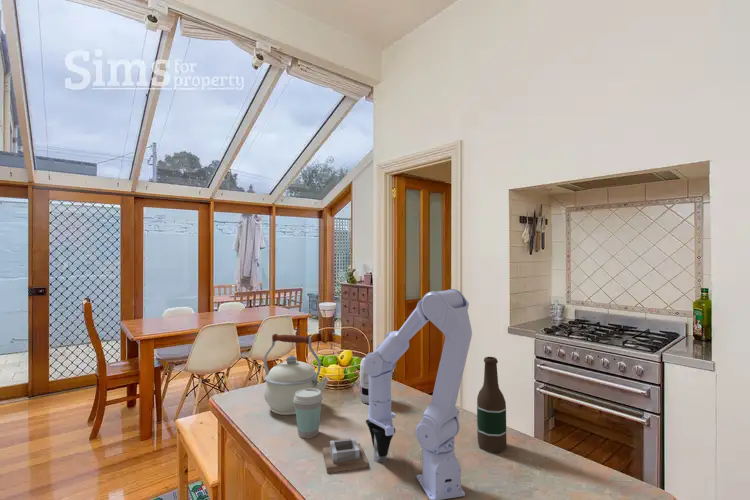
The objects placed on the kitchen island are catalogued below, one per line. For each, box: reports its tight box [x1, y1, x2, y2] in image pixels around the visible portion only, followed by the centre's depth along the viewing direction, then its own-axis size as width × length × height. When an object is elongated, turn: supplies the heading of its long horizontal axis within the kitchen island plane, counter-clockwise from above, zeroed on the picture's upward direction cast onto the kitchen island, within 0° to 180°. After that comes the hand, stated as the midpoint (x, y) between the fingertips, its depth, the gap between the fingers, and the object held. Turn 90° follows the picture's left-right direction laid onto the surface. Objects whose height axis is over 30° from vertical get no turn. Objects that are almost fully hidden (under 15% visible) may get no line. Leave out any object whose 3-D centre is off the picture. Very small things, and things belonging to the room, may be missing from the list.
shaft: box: [373, 435, 388, 463], centre depth 98 cm, size 3×3×7 cm
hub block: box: [322, 437, 369, 474], centre depth 98 cm, size 10×10×4 cm
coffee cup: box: [293, 388, 324, 439], centre depth 113 cm, size 8×8×12 cm
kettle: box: [262, 333, 330, 416], centre depth 133 cm, size 25×18×25 cm
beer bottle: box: [476, 356, 507, 454], centre depth 105 cm, size 8×8×24 cm
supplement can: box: [359, 356, 369, 405], centre depth 139 cm, size 8×8×15 cm
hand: (380, 451), depth 98 cm, fingers closed on shaft, 3 cm apart
